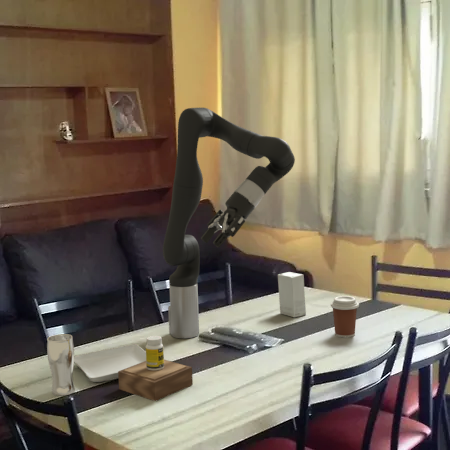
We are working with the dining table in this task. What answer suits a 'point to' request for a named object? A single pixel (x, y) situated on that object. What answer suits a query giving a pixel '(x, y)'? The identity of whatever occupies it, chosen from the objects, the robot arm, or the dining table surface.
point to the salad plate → (109, 361)
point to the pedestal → (155, 380)
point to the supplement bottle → (154, 353)
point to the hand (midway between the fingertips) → (209, 243)
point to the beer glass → (61, 363)
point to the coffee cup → (344, 315)
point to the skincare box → (291, 294)
